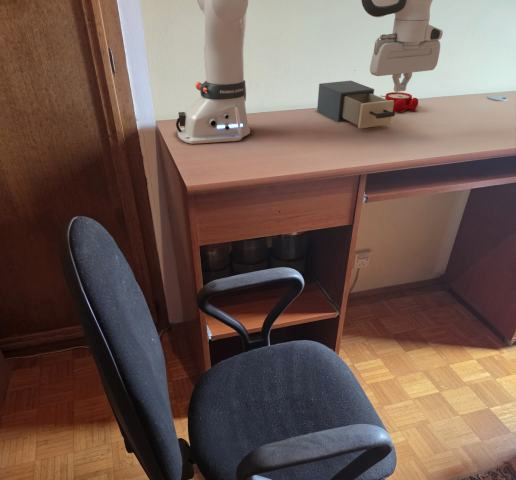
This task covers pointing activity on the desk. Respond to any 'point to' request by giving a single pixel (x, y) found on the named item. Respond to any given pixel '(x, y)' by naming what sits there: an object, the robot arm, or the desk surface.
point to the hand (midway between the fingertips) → (399, 91)
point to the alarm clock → (402, 101)
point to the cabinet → (337, 97)
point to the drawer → (367, 110)
